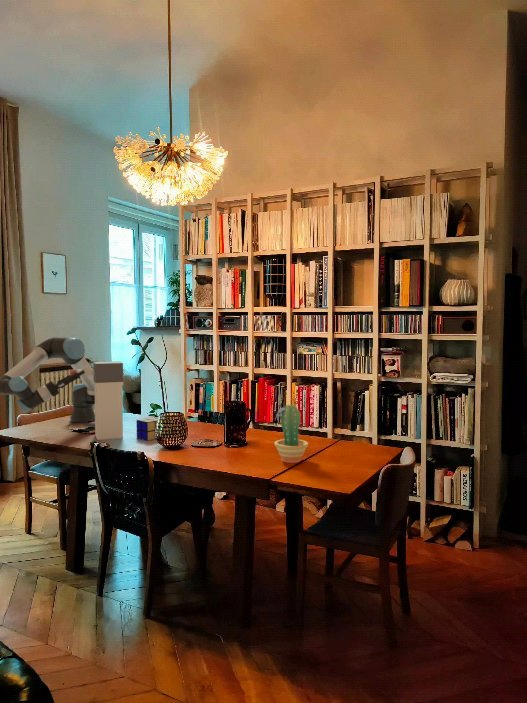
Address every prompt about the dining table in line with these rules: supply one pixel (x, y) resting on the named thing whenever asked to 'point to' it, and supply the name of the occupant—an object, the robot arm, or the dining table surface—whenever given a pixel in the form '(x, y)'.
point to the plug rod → (84, 374)
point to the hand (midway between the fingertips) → (89, 367)
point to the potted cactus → (290, 435)
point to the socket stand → (108, 400)
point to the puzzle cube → (146, 428)
